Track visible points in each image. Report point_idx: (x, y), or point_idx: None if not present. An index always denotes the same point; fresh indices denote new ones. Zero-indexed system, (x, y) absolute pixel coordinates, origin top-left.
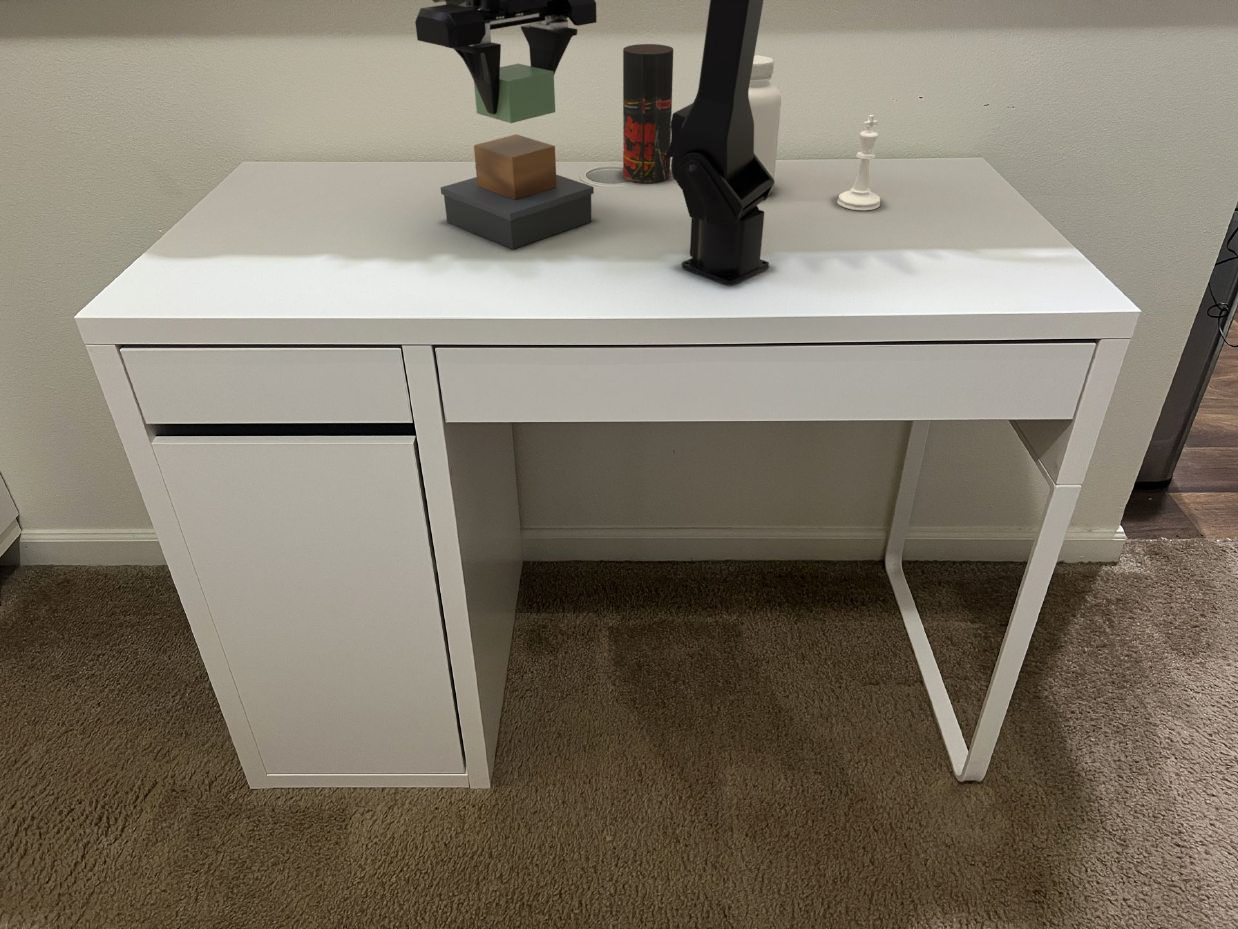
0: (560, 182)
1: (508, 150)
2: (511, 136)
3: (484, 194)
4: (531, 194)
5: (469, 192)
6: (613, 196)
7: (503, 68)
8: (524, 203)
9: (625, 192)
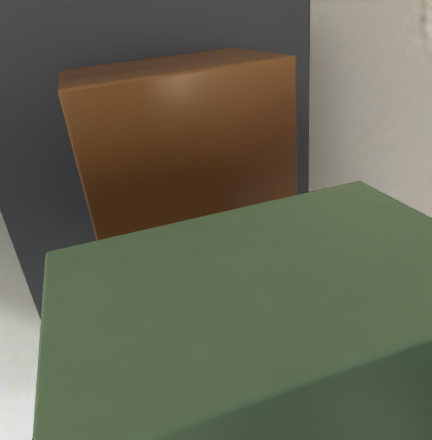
0: None
1: None
2: (262, 75)
3: (45, 157)
4: None
5: (5, 112)
6: (394, 110)
7: (371, 411)
8: None
9: (425, 105)
